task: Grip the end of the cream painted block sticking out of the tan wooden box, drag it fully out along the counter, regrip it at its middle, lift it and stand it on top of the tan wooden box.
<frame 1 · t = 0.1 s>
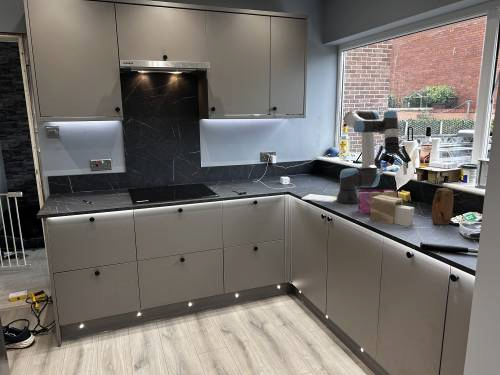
hand: (393, 174, 211), 28 cm above the worktop, tool tilted 20°, fingers open, 13 cm apart
block: (440, 223, 213), on the worktop
gum box: (376, 212, 238), on the worktop
tan wooden box: (385, 219, 220), on the worktop
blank: (395, 222, 216), on the worktop
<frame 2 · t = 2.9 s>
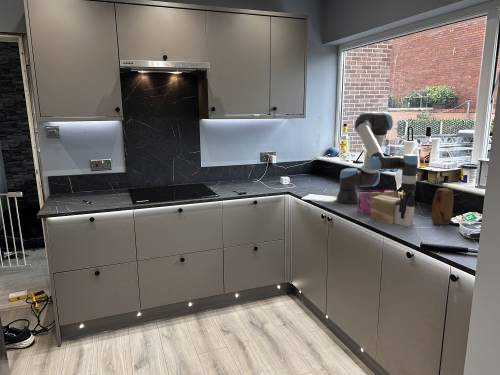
hand: (405, 222, 211), 1 cm above the worktop, tool pointing down, fingers closed on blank, 6 cm apart
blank: (395, 222, 216), on the worktop, touching gripper
everything else where it was.
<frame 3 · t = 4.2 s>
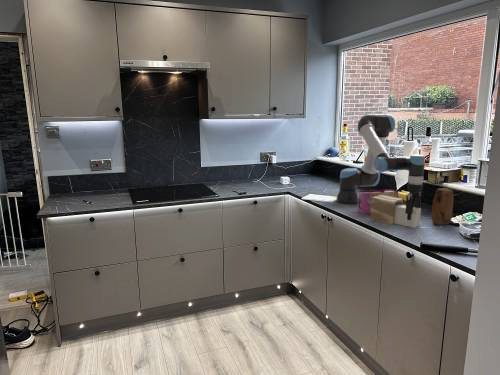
hand: (411, 223, 209), 1 cm above the worktop, tool pointing down, fingers closed on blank, 6 cm apart
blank: (401, 223, 213), on the worktop, touching gripper
everything else where it was.
when the fingers open (1 cm above the worktop, at t = 5.7 s): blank stays where it is, on the worktop.
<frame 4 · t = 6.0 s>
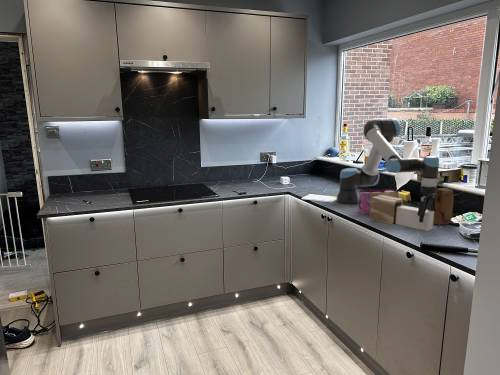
hand: (425, 225, 203), 2 cm above the worktop, tool pointing down, fingers open, 9 cm apart
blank: (413, 226, 208), on the worktop
everything else where it was.
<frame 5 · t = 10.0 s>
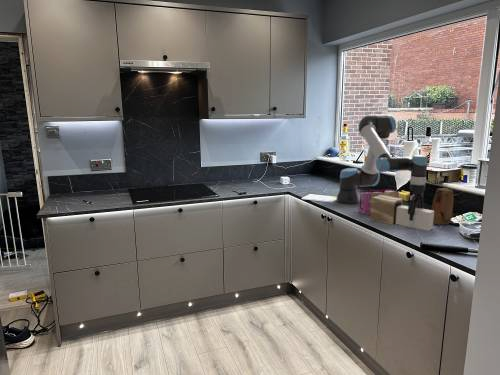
hand: (414, 224, 208), 1 cm above the worktop, tool pointing down, fingers closed on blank, 6 cm apart
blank: (413, 226, 208), on the worktop, touching gripper
everything else where it was.
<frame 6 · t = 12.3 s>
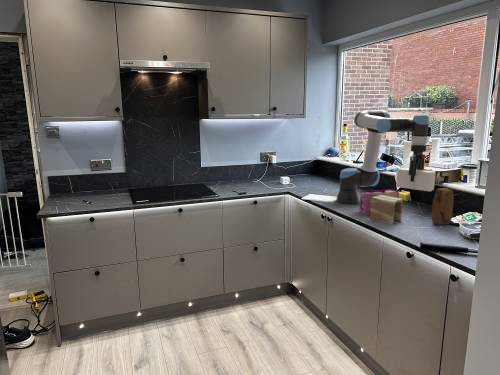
hand: (415, 186, 205), 22 cm above the worktop, tool pointing down, fingers closed on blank, 6 cm apart
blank: (414, 188, 205), point 21 cm above the worktop, touching gripper
when the fingers open (16 cm above the worktop, at t = 14.8 s): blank drops 2 cm, resting on tan wooden box.
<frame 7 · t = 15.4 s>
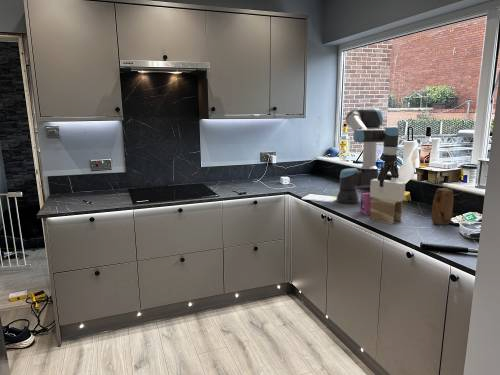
hand: (387, 190, 217), 18 cm above the worktop, tool pointing down, fingers open, 13 cm apart
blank: (386, 198, 218), point 13 cm above the worktop, touching tan wooden box
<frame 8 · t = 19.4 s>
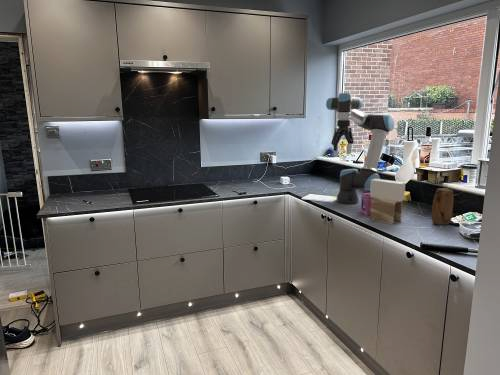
hand: (342, 155, 228), 37 cm above the worktop, tool pointing down, fingers open, 13 cm apart
at the end: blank inside the target area on the tan wooden box (0.2 cm from its centre), point 13.2 cm above the tan wooden box's base; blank tilted 0°; the gripper is holding nothing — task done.
